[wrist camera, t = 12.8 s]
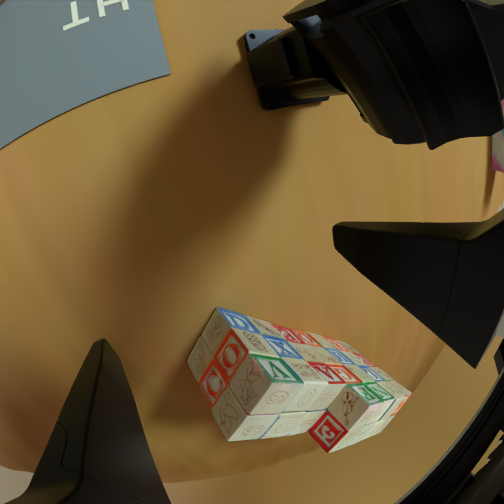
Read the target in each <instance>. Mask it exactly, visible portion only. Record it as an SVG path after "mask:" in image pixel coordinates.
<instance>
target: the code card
mask: <svg viewBox="0 0 504 504" xmlns="http://www.w3.org/2000/svg"><path fill="white" fill-rule="evenodd" d="M168 74H171V72H170V68H169V64H168V61H167V57H166V53H165V49H164V45H163V41H162V37H161V33H160V29H159V25H158V21H157V17H156V12H155V8H154V4H153V0H3V1H1V2H0V149H1V148H2V147H4V146H5V145H7V144H8V143H10V142H12V141H13V140H15V139H16V138H18V137H20V136H21V135H23V134H25V133H26V132H28V131H30V130H32V129H33V128H35V127H37V126H39V125H41V124H42V123H44V122H46V121H48V120H50V119H52V118H54V117H56V116H58V115H60V114H62V113H64V112H66V111H68V110H70V109H73V108H75V107H77V106H79V105H82V104H84V103H86V102H89V101H91V100H93V99H96V98H98V97H101V96H103V95H106V94H109V93H111V92H114V91H117V90H119V89H122V88H125V87H128V86H131V85H134V84H137V83H140V82H144V81H147V80H150V79H154V78H157V77H161V76H165V75H168Z"/></svg>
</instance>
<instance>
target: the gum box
mask: <svg viewBox="0 0 504 504" xmlns="http://www.w3.org/2000/svg"><path fill="white" fill-rule="evenodd" d="M501 104H502V109H503V114H504V100H503V101H502V102H501ZM491 169H493V170H497V171H500V172H503V173H504V129H503V130H501V131H499V132H497V133H496V134H494V135H492V165H491Z"/></svg>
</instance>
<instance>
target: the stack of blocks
mask: <svg viewBox="0 0 504 504" xmlns="http://www.w3.org/2000/svg"><path fill="white" fill-rule="evenodd" d="M187 362H188V364H189V367H190V369H191V371H192V373H193V375H194V377H195V379H196V380H197V382H198V386H199V388H200V390H201V392H202V394H203V395H204V397H205V399H206V401H207V403H208V405H209V406H210V408H211V409H212V415H213V416H214V418H215V420H216V422H217V424H218V426H219V427H220V429H221V431H222V432H223V434H224V436H225V438H226V439H227V441H239V440H251V439H258V438H260V439H265V438H273V437H281V436H285V435H294V434H299V433H304V432H306V431H308V432H309V434H310V435H311V436H312V437H313V438H314V439H315V440H316V441H317V443H318V444H319V445H320V446H321V447H322V448H323V449H324V450H325V451H326V452H327V453H330V452H333V451H336V450H338V449H341V448H344V447H345V446H349V445H352V444H354V443H356V442H359V441H361V440H363V439H365V438H368V437H370V436H373V435H375V434H378V433H379V432H381V431H382V429H383V428H384V427H385V426H386V425H387V424H388V423H389V422H390V421H391V419H392V418H393V417H394V416H395V414H396V413H397V412H398V411H399V410H400V408H401V407H402V406H403V404H404V403H405V402H406V401H407V399H408V398H409V397H410V395H411V392H409V391H408V390H407V389H405V388H404V387H403V386H401V385H400V384H398V383H397V382H396V381H394V380H393V379H392V378H391V377H390V376H389V375H387V374H386V373H385V372H383V371H382V370H381V369H379V368H377V367H376V366H375V365H373V364H372V363H371V362H369V361H368V360H367V359H366V358H364V357H363V356H362V355H361V354H360V353H359V352H358V351H356V350H355V349H354V348H352V347H351V346H350V345H348V344H347V343H344V342H340V341H337V340H335V339H331V338H327V337H324V336H320V335H316V334H312V333H308V332H307V333H305V332H301V331H297V330H293V329H287V328H284V327H281V326H276V325H273V324H270V323H269V322H267V321H263V320H259V319H256V318H253V317H250V316H244V315H242V314H239V313H236V312H232V311H229V310H226V309H222V308H219V307H217V308H216V310H215V311H214V313H213V315H212V316H211V318H210V320H209V322H208V324H207V325H206V327H205V329H204V331H203V333H202V335H201V336H200V337H199V339H198V341H197V343H196V344H195V346H194V348H193V350H192V352H191V353H190V355H189V357H188V360H187Z"/></svg>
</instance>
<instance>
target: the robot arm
mask: <svg viewBox="0 0 504 504" xmlns="http://www.w3.org/2000/svg"><path fill="white" fill-rule="evenodd" d="M283 18H284V19H285V20H286V21H287V22H288V23H291V24H292V25H293V27H291V28H289V29H286V30H251V31H248V32H246V33H245V34H244V41H245V45H246V49H247V52H248V54H247V58H248V62H249V66H250V70H251V73H252V77H253V81H254V85H255V86H256V87H257V91H258V95H259V99H260V103H261V106H262V108H263V109H264V110H274V109H279V108H284V107H289V106H295V105H300V104H306V103H313V102H320V101H326V100H328V99H329V97H330V96H334V95H346V94H348V95H349V97H350V98H351V100H352V101H353V103H354V104H355V106H356V107H357V109H358V110H359V112H360V116H361V118H362V119H363V121H364V122H366V123H369V125H370V126H371V127H372V128H373V130H374V131H375V132H376V133H377V134H380V135H382V136H384V137H387V138H390V139H392V141H393V143H395V144H408V145H410V144H420V143H424V142H426V143H427V145H428V148H429V149H430V150H434V149H436V148H437V147H439V146H441V145H443V144H445V143H447V142H450V141H453V140H456V139H459V138H466V137H481V136H492V135H494V134H496V133H497V132H499V131H501V130H503V129H504V114H503V109H502V104H501V102H502V101H503V100H504V0H305V1H303V2H302V3H300V4H299V5H297V6H296V7H295V8H293V9H292V10H291V11H289V12H288V13H286V14H285V15H284V16H283ZM249 35H251V36H252V37H253V39H251V38H250V37H249ZM267 101H268V102H269V103H270V106H267ZM332 232H333V242H334V247H335V249H336V250H337V251H338V252H339V253H340V254H341V255H342V256H343V257H344V258H345V259H346V260H347V261H348V262H349V263H351V264H352V265H353V266H354V267H355V268H356V269H357V270H358V271H359V272H360V273H361V274H362V275H364V276H365V277H366V278H367V279H369V280H370V281H371V282H372V283H374V284H375V285H376V286H378V287H379V288H380V289H381V290H383V291H384V292H385V293H386V294H388V295H389V296H390V297H391V298H393V299H394V300H395V301H396V302H397V303H399V304H400V305H401V306H402V307H404V308H405V309H406V310H407V311H408V312H410V313H411V314H412V315H413V316H414V317H416V318H417V319H418V320H419V321H420V322H422V323H423V324H424V325H425V326H426V327H427V328H429V329H430V330H431V331H432V332H433V333H434V334H436V335H437V336H438V337H439V338H440V339H441V340H442V341H443V342H445V343H446V344H447V345H448V346H449V347H450V348H451V349H453V350H454V351H455V352H456V353H457V354H458V355H459V356H461V357H462V358H463V359H464V360H465V361H466V362H467V363H468V364H469V365H470V366H471V367H473V368H474V369H476V367H477V366H478V364H479V362H480V361H481V359H482V358H483V356H484V355H485V353H486V351H487V349H488V348H489V346H490V345H491V343H492V341H493V339H494V337H495V336H496V334H497V335H499V336H500V337H502V338H503V340H502V342H501V344H500V346H499V348H498V350H497V351H496V353H495V355H494V360H495V363H496V367H497V371H498V375H499V376H498V378H497V380H496V382H495V383H494V385H493V387H492V388H491V390H490V392H489V393H488V395H487V397H486V398H485V400H484V402H483V403H482V404H481V406H480V408H479V409H478V411H477V412H476V414H475V415H474V417H473V418H472V419H471V421H470V422H469V423H468V425H467V426H466V427H465V429H464V430H463V432H462V433H461V434H460V436H459V437H458V438H457V439H456V440H455V442H454V443H453V444H452V445H451V447H450V448H449V449H448V450H447V451H446V453H445V454H444V455H443V456H442V457H441V458H440V459H439V461H438V462H437V463H436V464H435V465H434V466H433V467H432V468H431V469H430V470H429V472H427V473H426V475H425V476H424V477H423V478H422V479H421V480H420V481H419V482H417V484H415V485H414V486H413V487H412V488H411V489H410V490H409V491H408V492H407V493H406V494H405V495H404V496H403V497H401V498H400V499H399V500H398V501H397V502H396V503H395V504H504V434H503V435H502V436H501V438H500V439H499V442H500V443H501V444H500V445H499V446H498V447H497V448H496V449H495V450H494V451H493V452H492V453H491V454H490V455H489V456H488V458H487V460H488V461H489V462H488V463H487V464H486V465H485V466H484V467H483V468H481V469H480V470H479V471H478V472H477V473H476V474H475V475H474V474H473V473H471V471H472V470H473V468H474V467H475V465H476V464H477V463H478V462H479V460H480V459H481V457H482V456H483V455H484V453H485V452H486V450H487V449H488V447H489V446H490V444H491V443H492V441H493V440H494V438H495V437H496V435H497V433H498V432H499V430H502V431H503V432H504V209H502V210H501V211H499V212H498V213H497V214H495V215H494V216H493V217H491V218H490V219H488V220H486V221H482V222H459V223H429V222H424V223H422V222H340V223H338V224H336V225H334V226H333V228H332ZM5 504H171V502H170V500H169V498H168V495H167V493H166V491H165V489H164V486H163V484H162V481H161V479H160V476H159V474H158V471H157V468H156V466H155V463H154V460H153V458H152V455H151V452H150V449H149V446H148V443H147V440H146V437H145V434H144V431H143V428H142V424H141V421H140V418H139V414H138V411H137V407H136V403H135V400H134V397H133V394H132V391H131V389H130V386H129V383H128V381H127V378H126V375H125V372H124V369H123V367H122V364H121V361H120V359H119V357H118V355H117V354H116V352H115V351H114V350H113V348H112V347H111V346H110V344H109V343H108V342H107V340H106V339H100V340H98V341H96V342H94V343H93V345H92V347H91V349H90V351H89V353H88V355H87V357H86V359H85V361H84V363H83V365H82V367H81V369H80V371H79V373H78V375H77V377H76V379H75V381H74V383H73V385H72V388H71V390H70V392H69V394H68V396H67V398H66V401H65V403H64V405H63V408H62V410H61V412H60V415H59V417H58V421H57V422H56V424H55V427H54V429H53V432H52V434H51V436H50V439H49V441H48V444H47V446H46V448H45V450H44V452H43V455H42V457H41V459H40V461H39V463H38V466H37V468H36V470H35V473H34V475H33V477H32V480H31V482H30V484H29V486H28V488H27V489H26V491H25V492H24V493H23V494H22V495H21V496H19V497H18V498H16V499H13V500H11V501H9V502H7V503H5Z"/></svg>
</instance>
